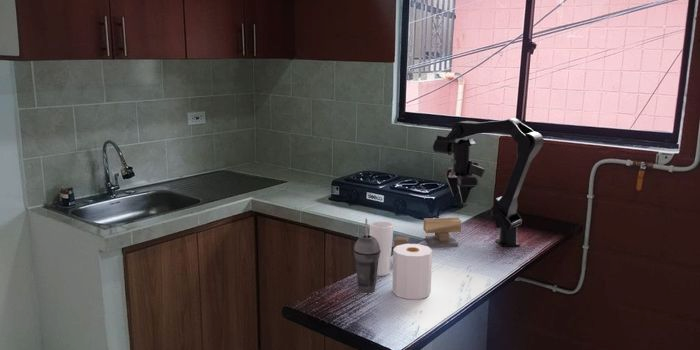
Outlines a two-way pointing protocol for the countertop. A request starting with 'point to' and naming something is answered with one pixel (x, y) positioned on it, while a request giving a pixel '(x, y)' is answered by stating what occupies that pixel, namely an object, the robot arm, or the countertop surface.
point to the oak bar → (442, 225)
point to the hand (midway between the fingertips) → (459, 199)
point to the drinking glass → (383, 244)
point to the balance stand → (441, 240)
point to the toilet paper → (412, 271)
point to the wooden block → (401, 240)
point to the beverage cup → (366, 262)
